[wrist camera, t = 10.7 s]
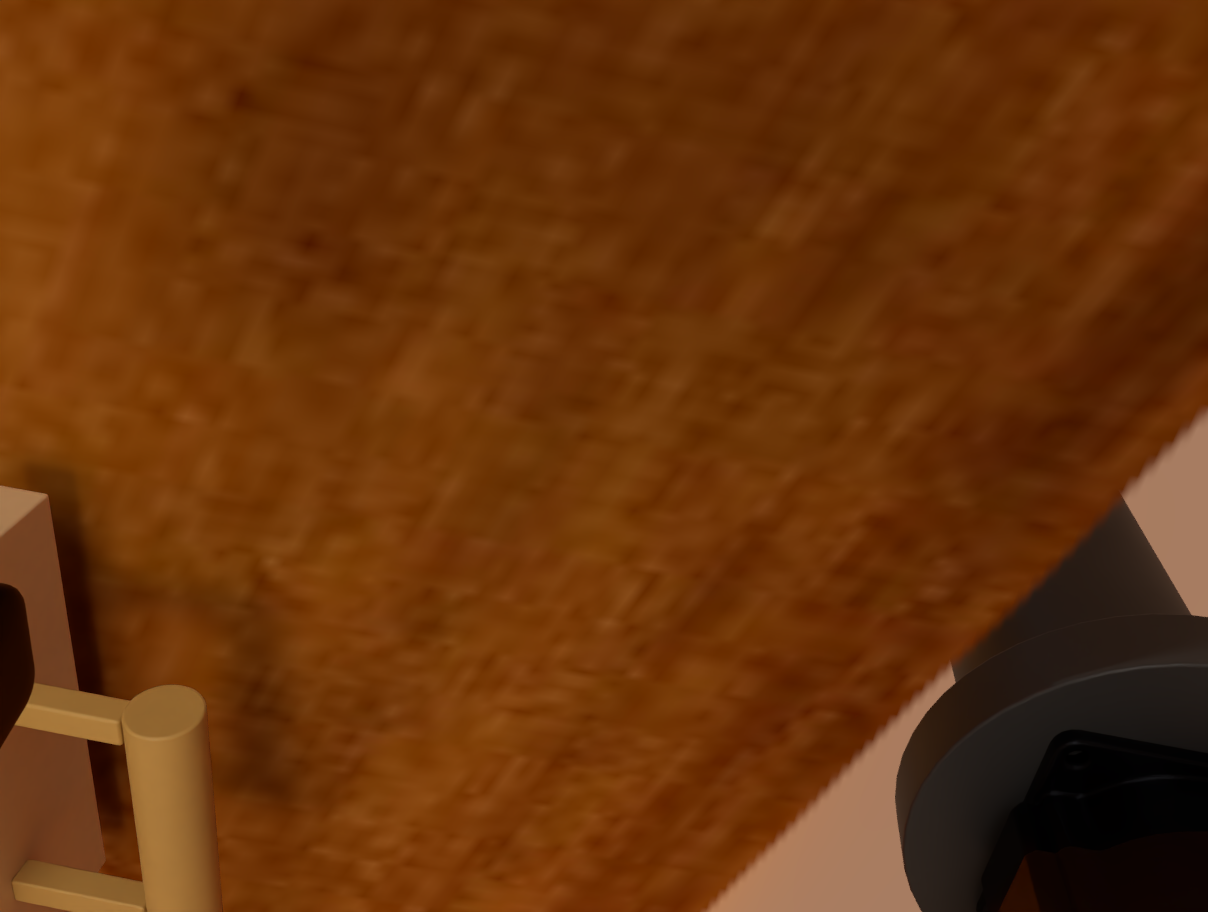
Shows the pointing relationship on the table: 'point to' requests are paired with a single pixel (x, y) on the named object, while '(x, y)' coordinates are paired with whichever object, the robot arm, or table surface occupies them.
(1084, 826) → the robot arm
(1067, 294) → the table surface
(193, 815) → the drawer
